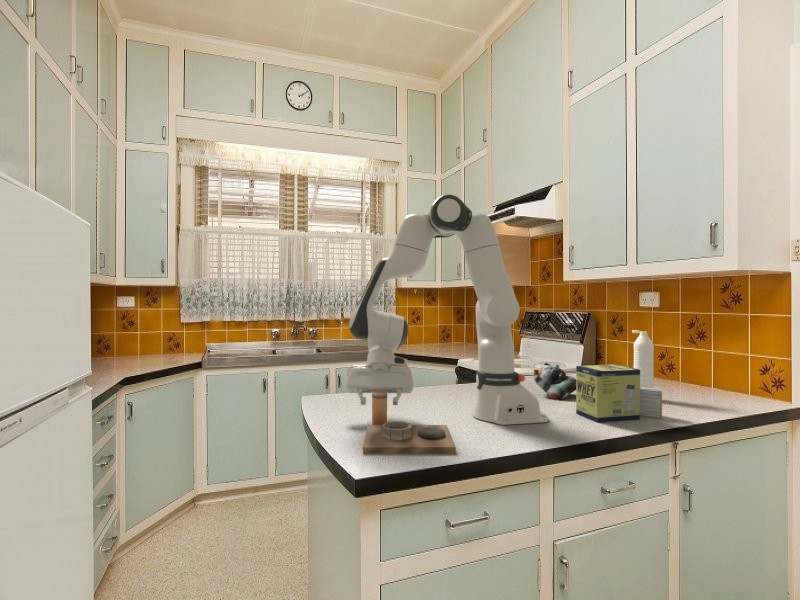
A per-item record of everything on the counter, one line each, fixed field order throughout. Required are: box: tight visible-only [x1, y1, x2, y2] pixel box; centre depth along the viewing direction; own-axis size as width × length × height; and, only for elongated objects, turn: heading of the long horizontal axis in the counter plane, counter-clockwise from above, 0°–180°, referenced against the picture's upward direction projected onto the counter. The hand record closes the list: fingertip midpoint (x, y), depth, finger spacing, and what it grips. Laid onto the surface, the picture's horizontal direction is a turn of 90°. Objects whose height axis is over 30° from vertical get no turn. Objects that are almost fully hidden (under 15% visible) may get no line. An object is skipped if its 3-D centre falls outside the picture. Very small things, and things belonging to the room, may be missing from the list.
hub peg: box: [371, 392, 388, 425], centre depth 126 cm, size 4×4×9 cm
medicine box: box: [640, 387, 663, 419], centre depth 135 cm, size 8×4×9 cm, turn 65°
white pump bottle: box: [631, 329, 655, 388], centre depth 160 cm, size 9×6×25 cm
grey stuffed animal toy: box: [533, 362, 576, 401], centre depth 164 cm, size 15×12×14 cm
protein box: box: [575, 363, 641, 424], centre depth 134 cm, size 10×16×16 cm
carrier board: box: [362, 420, 457, 455], centre depth 111 cm, size 22×18×4 cm
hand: (379, 404), depth 126 cm, fingers open, 8 cm apart
